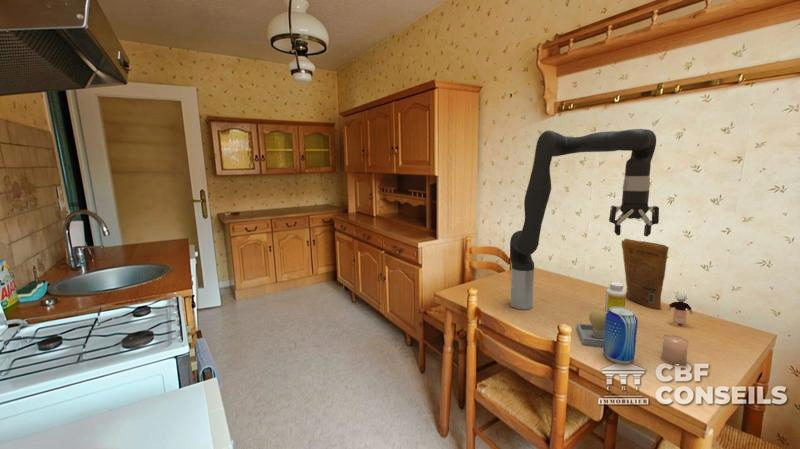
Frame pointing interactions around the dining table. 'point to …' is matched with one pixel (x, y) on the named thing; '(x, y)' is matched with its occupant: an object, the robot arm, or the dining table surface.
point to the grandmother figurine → (680, 310)
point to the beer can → (620, 335)
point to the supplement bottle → (615, 296)
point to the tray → (588, 335)
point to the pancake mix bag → (644, 271)
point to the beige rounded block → (674, 349)
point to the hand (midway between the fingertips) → (631, 235)
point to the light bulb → (598, 323)
